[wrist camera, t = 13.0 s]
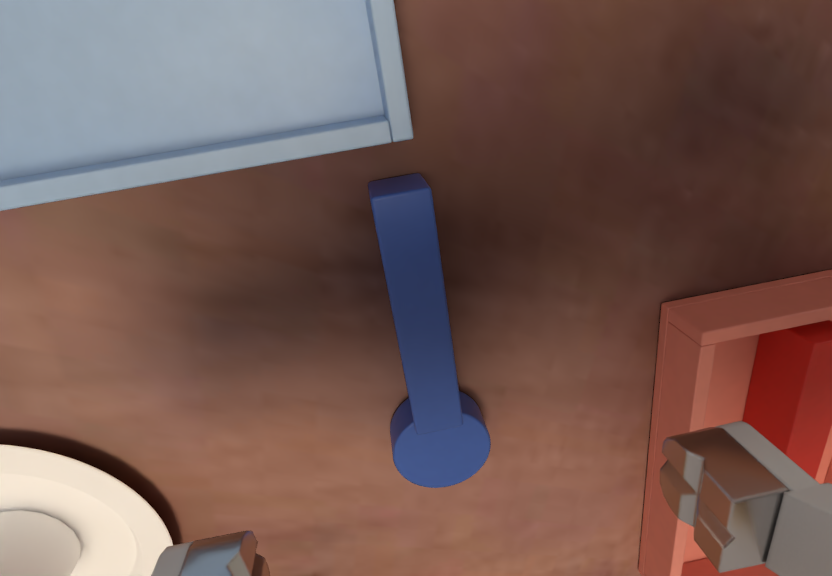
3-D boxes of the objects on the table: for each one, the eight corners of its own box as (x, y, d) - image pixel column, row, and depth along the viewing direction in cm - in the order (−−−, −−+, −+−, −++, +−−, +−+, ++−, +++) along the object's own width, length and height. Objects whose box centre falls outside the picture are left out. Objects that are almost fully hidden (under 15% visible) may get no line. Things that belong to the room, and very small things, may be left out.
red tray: (661, 302, 19) (702, 333, 17) (893, 256, 19) (964, 280, 17) (637, 569, 26) (665, 616, 24) (806, 531, 27) (848, 573, 24)
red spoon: (737, 319, 19) (787, 350, 17) (827, 301, 19) (888, 329, 17) (701, 528, 24) (735, 571, 22) (772, 512, 25) (812, 554, 22)
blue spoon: (334, 187, 15) (331, 205, 13) (452, 166, 15) (468, 180, 13) (398, 468, 21) (403, 513, 19) (484, 449, 21) (500, 492, 19)
